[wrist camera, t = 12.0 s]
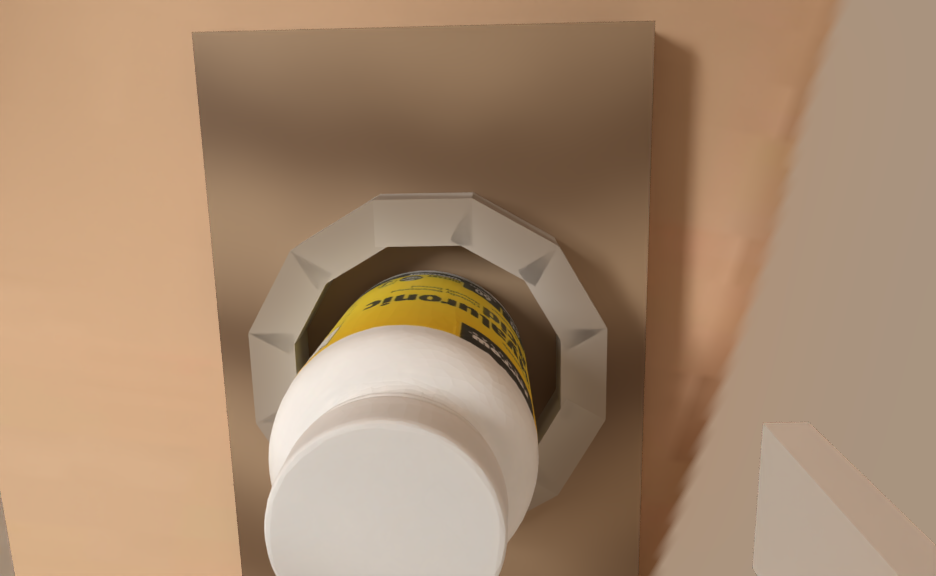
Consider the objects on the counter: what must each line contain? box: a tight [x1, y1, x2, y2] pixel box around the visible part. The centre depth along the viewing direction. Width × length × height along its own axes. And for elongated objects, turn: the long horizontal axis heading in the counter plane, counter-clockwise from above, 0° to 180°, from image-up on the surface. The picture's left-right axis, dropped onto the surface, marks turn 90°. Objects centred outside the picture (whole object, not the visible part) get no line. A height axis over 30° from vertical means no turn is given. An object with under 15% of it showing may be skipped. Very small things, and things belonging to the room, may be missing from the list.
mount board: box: [192, 21, 655, 576], centre depth 22 cm, size 18×12×3 cm, turn 1°
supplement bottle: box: [264, 271, 539, 576], centre depth 17 cm, size 5×5×10 cm
